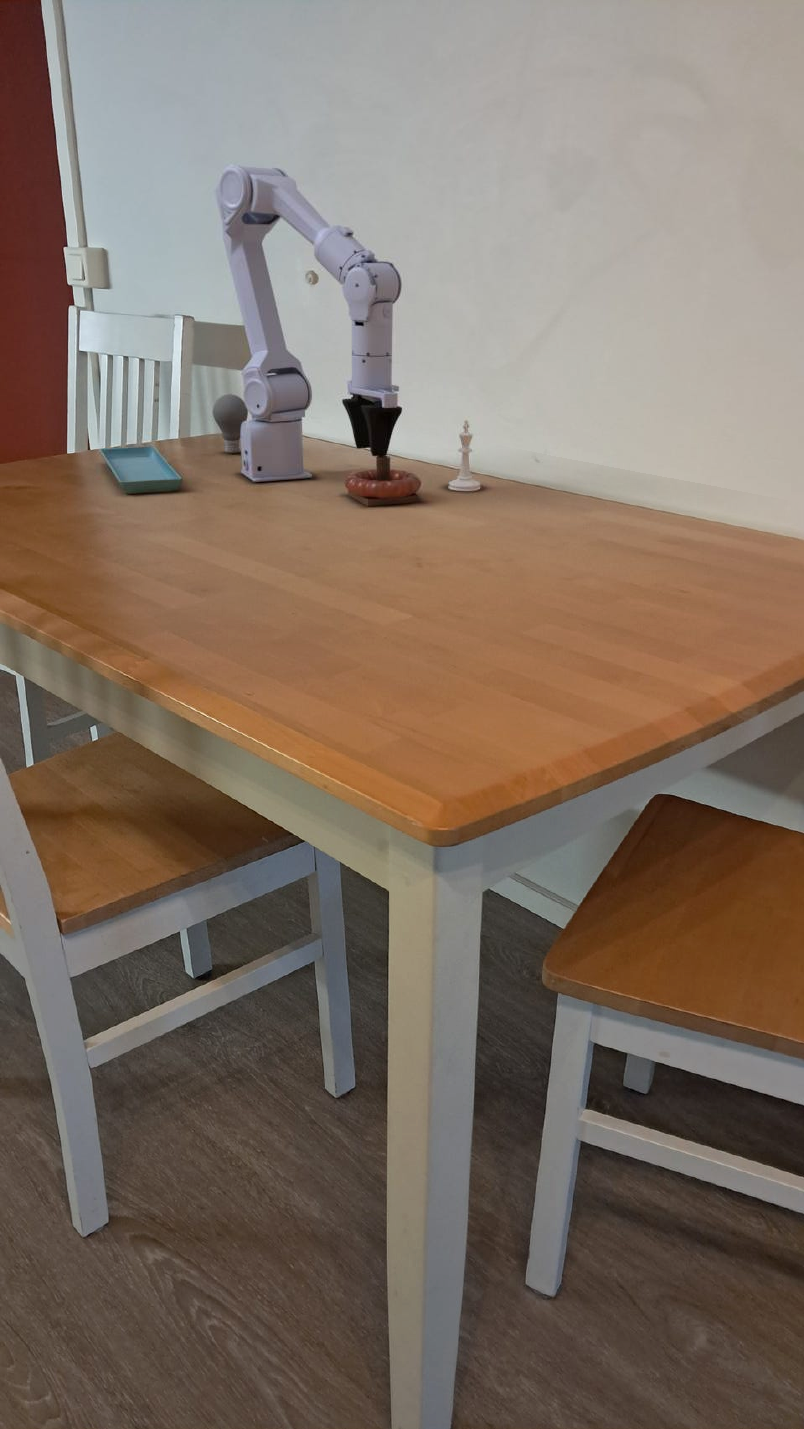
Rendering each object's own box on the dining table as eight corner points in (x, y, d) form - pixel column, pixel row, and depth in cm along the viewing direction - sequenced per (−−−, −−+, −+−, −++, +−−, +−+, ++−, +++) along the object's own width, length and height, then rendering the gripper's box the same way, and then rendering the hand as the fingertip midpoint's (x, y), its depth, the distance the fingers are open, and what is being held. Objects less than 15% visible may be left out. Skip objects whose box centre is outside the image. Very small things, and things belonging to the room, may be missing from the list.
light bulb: (221, 449, 190) (217, 391, 186) (253, 450, 190) (250, 392, 186) (211, 455, 185) (207, 396, 181) (244, 456, 184) (241, 397, 180)
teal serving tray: (183, 492, 158) (182, 475, 157) (121, 496, 155) (119, 479, 154) (155, 460, 180) (154, 445, 179) (100, 463, 177) (98, 448, 176)
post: (367, 506, 150) (367, 463, 148) (347, 495, 157) (347, 453, 155) (419, 502, 153) (420, 459, 151) (397, 490, 160) (398, 450, 158)
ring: (361, 502, 148) (360, 485, 147) (336, 486, 158) (335, 470, 157) (432, 496, 152) (432, 479, 151) (403, 481, 161) (403, 465, 160)
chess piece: (443, 489, 161) (445, 421, 157) (453, 483, 165) (455, 417, 161) (475, 492, 159) (477, 423, 155) (484, 486, 164) (487, 419, 160)
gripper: (418, 359, 146) (416, 459, 152) (378, 348, 158) (378, 441, 164) (370, 360, 144) (370, 462, 149) (334, 349, 156) (334, 444, 161)
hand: (371, 451), depth 156 cm, fingers open, 6 cm apart
